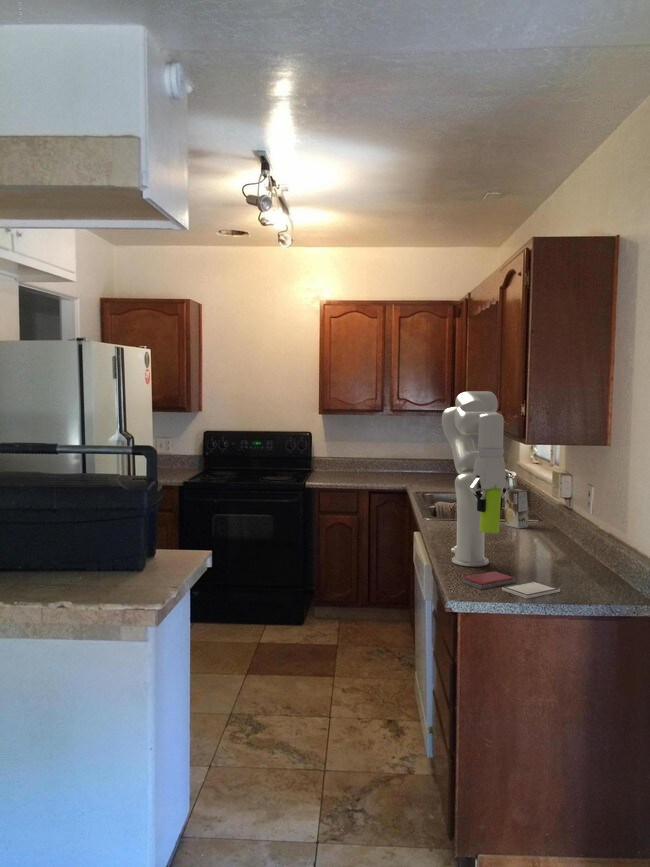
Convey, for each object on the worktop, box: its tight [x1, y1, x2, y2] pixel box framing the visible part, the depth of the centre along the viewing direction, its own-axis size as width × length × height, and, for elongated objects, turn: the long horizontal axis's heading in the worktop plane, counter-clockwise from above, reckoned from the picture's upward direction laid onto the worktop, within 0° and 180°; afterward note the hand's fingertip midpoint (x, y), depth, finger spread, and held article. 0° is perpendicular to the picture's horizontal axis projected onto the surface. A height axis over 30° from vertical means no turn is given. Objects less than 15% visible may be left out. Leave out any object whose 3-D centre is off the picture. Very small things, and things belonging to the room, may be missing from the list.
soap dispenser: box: [480, 484, 501, 534], centre depth 219 cm, size 6×7×20 cm
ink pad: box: [461, 571, 516, 590], centre depth 221 cm, size 9×14×2 cm, turn 120°
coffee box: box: [504, 488, 530, 529], centre depth 309 cm, size 9×6×16 cm
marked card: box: [501, 580, 561, 600], centre depth 212 cm, size 10×14×1 cm
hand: (489, 510), depth 219 cm, fingers closed on soap dispenser, 6 cm apart
